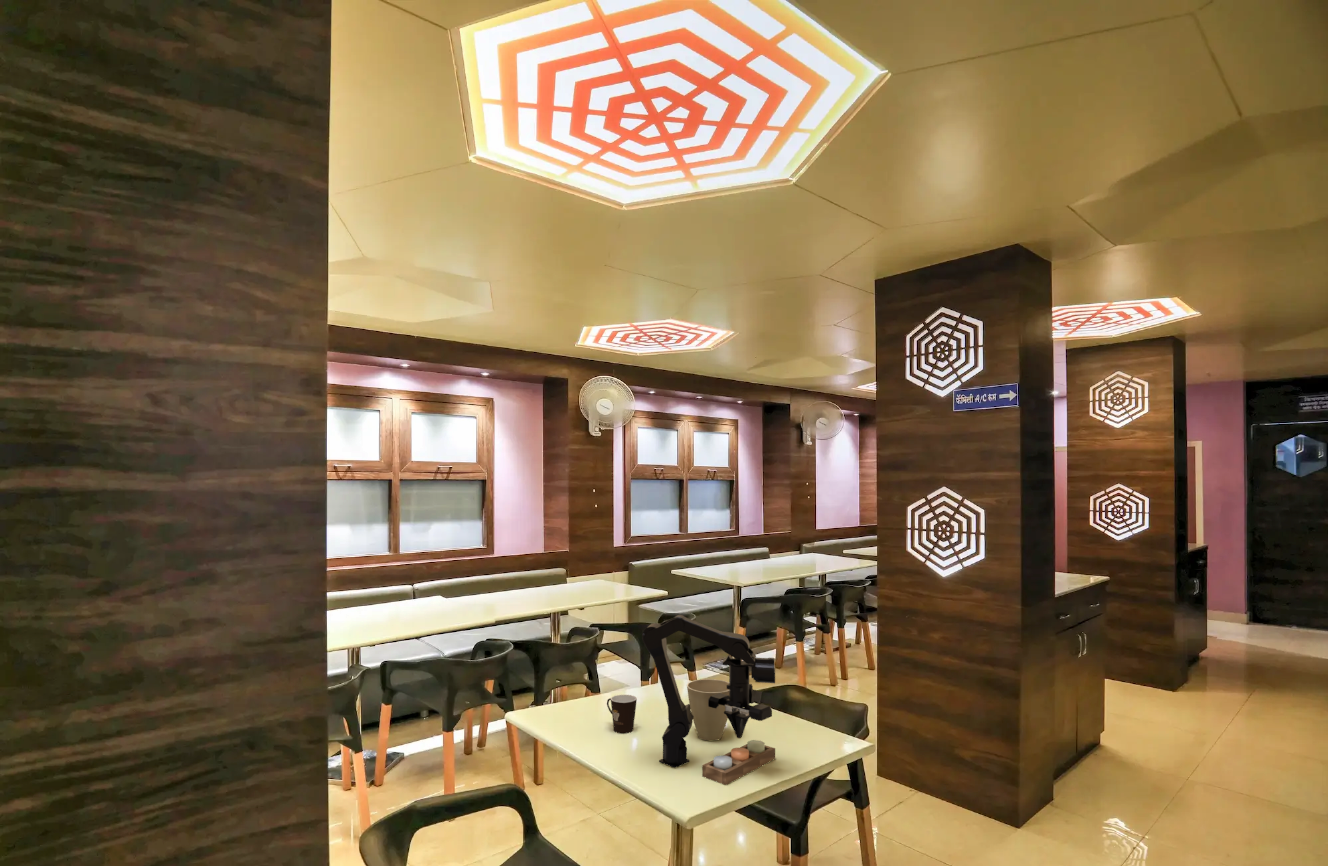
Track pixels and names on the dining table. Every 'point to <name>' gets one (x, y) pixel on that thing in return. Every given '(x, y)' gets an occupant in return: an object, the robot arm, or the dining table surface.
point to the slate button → (723, 762)
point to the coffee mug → (623, 712)
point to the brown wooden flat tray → (738, 766)
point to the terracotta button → (740, 754)
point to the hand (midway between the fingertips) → (739, 737)
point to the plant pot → (707, 707)
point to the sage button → (756, 746)
